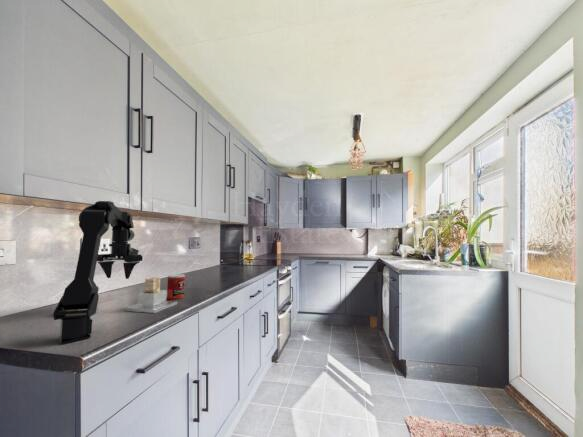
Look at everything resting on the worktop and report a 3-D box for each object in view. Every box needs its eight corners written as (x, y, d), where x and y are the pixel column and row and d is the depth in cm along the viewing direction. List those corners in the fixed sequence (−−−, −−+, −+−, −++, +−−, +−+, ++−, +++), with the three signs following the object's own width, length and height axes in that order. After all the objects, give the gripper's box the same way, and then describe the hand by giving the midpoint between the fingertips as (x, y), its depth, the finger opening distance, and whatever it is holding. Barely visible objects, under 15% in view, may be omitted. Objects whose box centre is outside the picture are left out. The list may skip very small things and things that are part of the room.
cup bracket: (154, 313, 100) (155, 296, 101) (124, 310, 103) (124, 294, 104) (177, 303, 114) (177, 289, 114) (150, 302, 117) (150, 287, 117)
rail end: (152, 301, 106) (153, 279, 107) (144, 301, 107) (145, 279, 108) (159, 299, 110) (160, 277, 111) (151, 298, 111) (152, 277, 112)
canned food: (173, 300, 120) (174, 276, 120) (163, 298, 124) (164, 275, 125) (187, 297, 126) (188, 274, 127) (177, 295, 130) (178, 273, 131)
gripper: (152, 241, 116) (151, 276, 115) (117, 241, 120) (116, 275, 119) (132, 241, 105) (130, 280, 104) (95, 241, 109) (93, 278, 108)
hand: (118, 278), depth 109 cm, fingers open, 9 cm apart
